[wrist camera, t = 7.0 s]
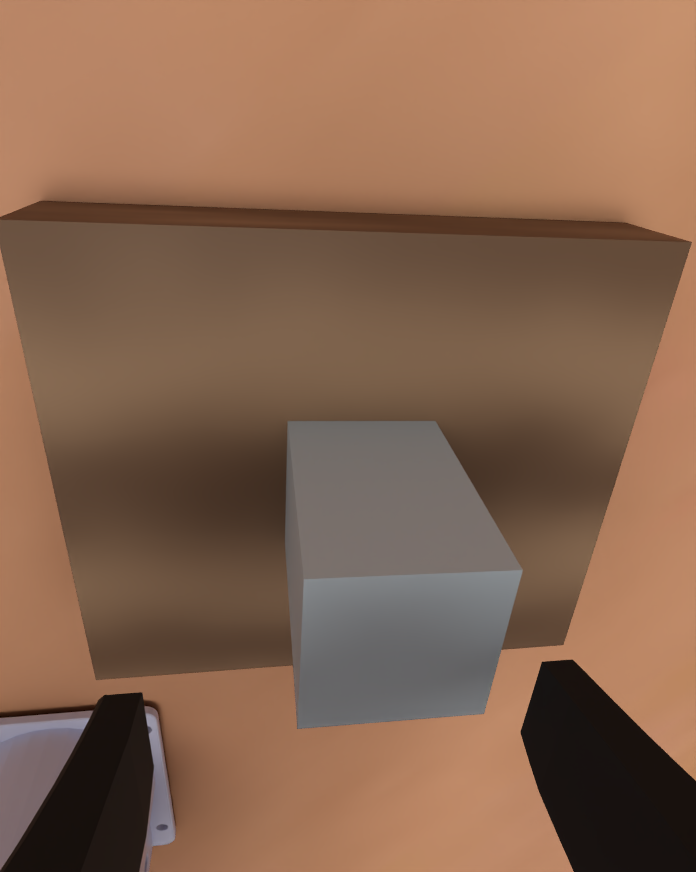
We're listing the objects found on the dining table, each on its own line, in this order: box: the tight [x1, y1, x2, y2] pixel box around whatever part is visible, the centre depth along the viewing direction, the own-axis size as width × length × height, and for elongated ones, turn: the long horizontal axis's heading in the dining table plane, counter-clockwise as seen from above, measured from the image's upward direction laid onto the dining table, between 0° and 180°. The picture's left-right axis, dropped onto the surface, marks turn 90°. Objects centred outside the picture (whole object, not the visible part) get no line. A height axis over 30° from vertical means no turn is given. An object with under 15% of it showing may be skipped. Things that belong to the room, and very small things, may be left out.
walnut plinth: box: [0, 201, 692, 680], centre depth 18 cm, size 14×16×3 cm
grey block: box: [285, 421, 523, 729], centre depth 14 cm, size 4×4×6 cm
